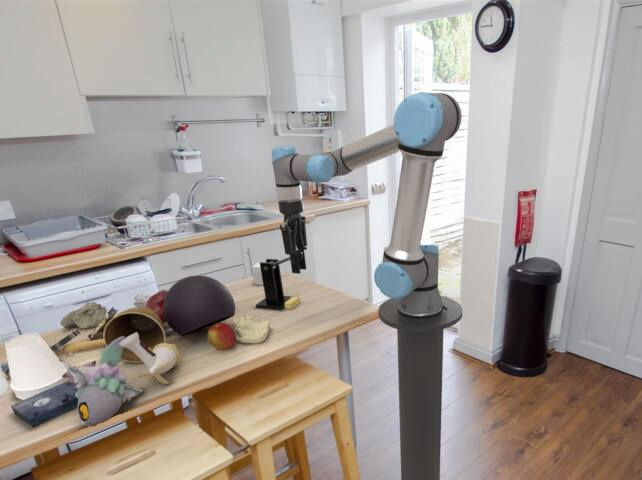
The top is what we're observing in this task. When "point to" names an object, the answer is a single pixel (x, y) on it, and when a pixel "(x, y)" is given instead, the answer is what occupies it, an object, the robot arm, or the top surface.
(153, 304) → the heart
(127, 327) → the plant pot
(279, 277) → the black lever stand
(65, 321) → the fossil
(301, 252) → the slicer arm
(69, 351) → the novelty tool
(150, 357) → the toy gun
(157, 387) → the top surface
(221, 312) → the dark purple dome
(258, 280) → the white cardboard box
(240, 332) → the lumpy plaster cast
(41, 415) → the vhs cassette tape
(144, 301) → the skull
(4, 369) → the wristwatch
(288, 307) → the butter
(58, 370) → the cup
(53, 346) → the toy
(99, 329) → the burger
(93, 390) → the toy
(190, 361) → the top surface
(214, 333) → the apple
